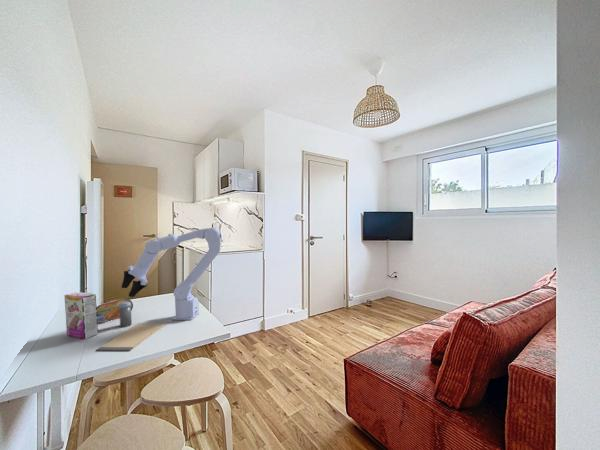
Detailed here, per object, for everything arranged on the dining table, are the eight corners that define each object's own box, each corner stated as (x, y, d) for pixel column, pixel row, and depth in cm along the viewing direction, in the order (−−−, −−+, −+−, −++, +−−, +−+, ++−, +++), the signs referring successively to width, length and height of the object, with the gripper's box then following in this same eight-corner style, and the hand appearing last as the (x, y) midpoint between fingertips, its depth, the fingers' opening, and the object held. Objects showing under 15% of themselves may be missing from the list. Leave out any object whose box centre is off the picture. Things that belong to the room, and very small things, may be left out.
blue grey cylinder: (134, 323, 109) (133, 301, 109) (127, 327, 105) (126, 305, 105) (124, 323, 109) (124, 301, 109) (117, 327, 105) (116, 305, 105)
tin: (95, 325, 108) (94, 306, 107) (92, 324, 109) (91, 305, 109) (133, 313, 120) (133, 296, 120) (130, 312, 122) (129, 295, 122)
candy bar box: (65, 336, 98) (63, 294, 98) (80, 330, 103) (78, 291, 102) (84, 340, 95) (82, 297, 94) (98, 334, 99) (96, 293, 99)
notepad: (165, 324, 107) (165, 323, 107) (129, 350, 86) (129, 349, 86) (138, 324, 108) (138, 323, 108) (96, 350, 87) (96, 349, 87)
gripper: (127, 255, 111) (111, 282, 110) (142, 270, 104) (124, 300, 102) (143, 258, 117) (127, 284, 116) (157, 273, 110) (141, 301, 108)
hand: (127, 291), depth 110 cm, fingers open, 7 cm apart
